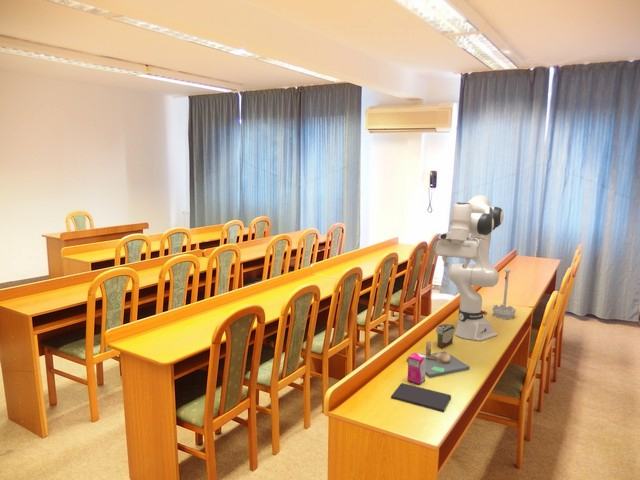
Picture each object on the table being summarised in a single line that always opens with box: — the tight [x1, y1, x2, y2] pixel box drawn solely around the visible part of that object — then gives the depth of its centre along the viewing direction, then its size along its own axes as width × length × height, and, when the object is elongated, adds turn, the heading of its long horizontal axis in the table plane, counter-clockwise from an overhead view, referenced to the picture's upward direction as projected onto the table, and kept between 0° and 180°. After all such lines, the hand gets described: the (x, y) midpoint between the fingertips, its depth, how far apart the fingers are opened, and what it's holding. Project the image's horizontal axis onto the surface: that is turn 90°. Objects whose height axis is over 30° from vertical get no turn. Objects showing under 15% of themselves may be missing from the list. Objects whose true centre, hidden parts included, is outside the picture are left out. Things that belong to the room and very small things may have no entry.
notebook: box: [390, 382, 452, 413], centre depth 193 cm, size 13×2×21 cm
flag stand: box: [492, 267, 517, 320], centre depth 288 cm, size 13×13×30 cm
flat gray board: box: [406, 350, 471, 379], centre depth 222 cm, size 22×19×2 cm
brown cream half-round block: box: [435, 323, 456, 350], centre depth 246 cm, size 12×6×10 cm, turn 134°
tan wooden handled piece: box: [418, 341, 451, 364], centre depth 225 cm, size 14×6×8 cm, turn 68°
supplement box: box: [407, 352, 426, 386], centre depth 207 cm, size 6×6×12 cm
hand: (454, 267), depth 217 cm, fingers open, 8 cm apart
